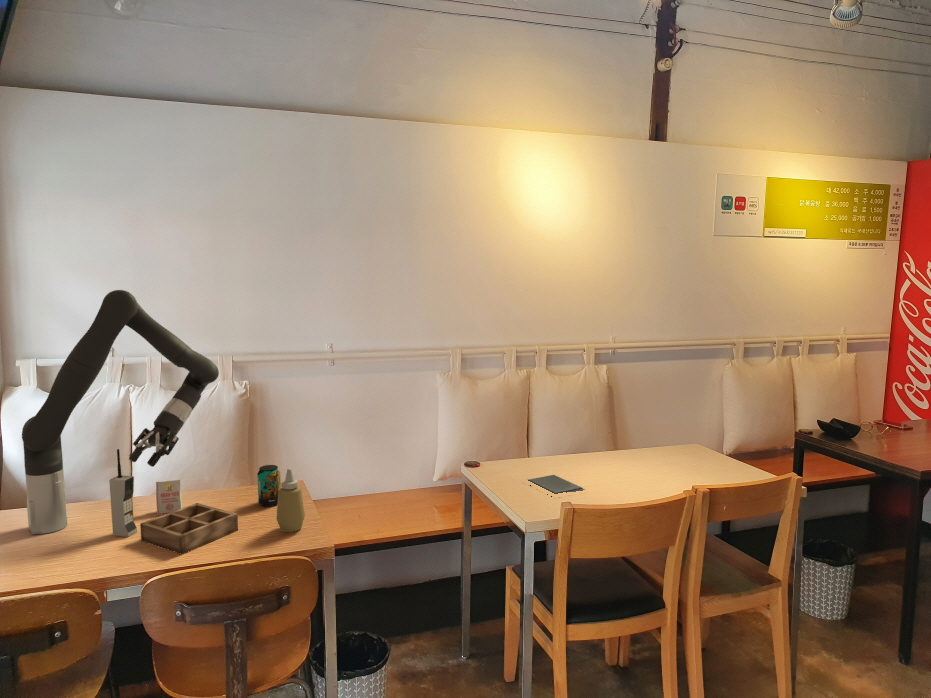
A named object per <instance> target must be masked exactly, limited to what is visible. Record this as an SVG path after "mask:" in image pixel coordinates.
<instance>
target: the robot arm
mask: <svg viewBox="0 0 931 698" xmlns="http://www.w3.org/2000/svg"><path fill="white" fill-rule="evenodd" d="M125 326H127V327H128V328H130V329H132V330H133V331H134V332H135V333H136V334H138V335H139V336H140V337H142V338H143V339H144V340H145V341H146V342H148V344H150V346H152V347H153V349H155V350H156V351H157V352H158V353H159V354H161V355H162V356H163V357H164V358H165V359H166V360H168V361H169V362H170V363H172V364H173V365H174V366H176V367H178V368H183V369H185V370H186V371H188V373H187V375H186V376H185V378H184V380H183V381H182V384H181V386H180V387H179V389H177V391H176V392H175V393H174V395H173V396H172V398H171V399H170V400H169V401H168V402H167V403H166V404H165V405H164V407H163V408H162V410H161V411H160V413H158V416H157V417H156V418H155V420H154V421H153V428H152V429H151V430H150V429H148V428H144V429H143V430H142V431H141V433H140V434H139V435H138V436H137V438H136V439H135V440H134V442H133V443H132V445H133V446H134V447H135V448H134V450H133V451H132V452H131V454H130V455H129V458H128V460H130V461H131V462H133V463H136V462H137V461H138V460H139V458H140V456H141V455H142V454H143V452H144V451H146V450H147V449H150V448H153V447H155V451H154V452H153V453H152V455H151V456H150V458H149V459H148V460H147V462H146V463H147V465H149V467H155V465H156V464H157V463H158V462H159V460H160V459H161V458H162V457H164V456H165V455H166V456H169V455H170V454H171V452H172V451H173V449H174V447H175V446H176V445H177V443H178V442H179V439H180V438H179V437H178V436H177V435H178V433H179V432H180V431H181V430H182V429H183V426H184V425H185V423H186V422H187V420H188V419H189V418H190V416H191V414H192V412H193V410H194V409H195V408H196V406H197V405H198V403H199V401H200V400H201V398H202V397H201V396H202V394H203V392H204V391H205V389H206V387H207V386H208V385H210V384H212V383H214V382H216V380H217V379H218V377H219V374H220V372H219V368H218V366H217V365H216V364H215V362H213V361H212V360H211V359H210V358H209V357H206V356H204V355H203V354H201V353H199V352H197V351H195V350H193V349H192V348H191V346H189V345H188V344H187V343H185V342H184V341H183V340H182V339H181V338H180V337H178V336H177V335H175V334H174V333H173V332H172V331H170V330H169V329H167V328H165V326H163V325H161V323H159V322H158V321H157V320H155V319H154V318H153V317H152V316H151V315H150V314H148V313H147V312H146V310H145V309H144V308H143V307H142V306H141V305H140V304H139V303H138V301H137V298H136V297H135V296H134V295H133V294H132V293H131V292H129V291H127V290H123V289H116V290H115V289H114V290H112V291H110V292H108V293H107V294H106V295H105V296H104V298H103V299H102V302H101V305H100V307H99V310H98V311H97V314H96V316H95V317H94V319H93V322H92V323H91V325H90V327H89V328H88V330H86V332H85V333H84V335H82V337H80V339H79V340H78V341H77V343H76V344H75V346H74V347H73V349H71V351H70V353H69V354H68V356H67V357H66V358H65V360H64V362H63V364H61V367H60V369H59V371H58V373H57V374H56V377H55V379H54V381H53V383H52V386H51V388H50V390H49V394H48V395H47V398H46V399H45V402H44V403H43V404H42V406H41V407H40V409H39V410H38V411H37V412H36V414H35V415H34V416H32V417H30V418H29V419H27V420H26V422H25V423H24V424H23V427H22V430H21V431H22V432H21V440H22V443H23V445H22V446H23V456H24V457H23V458H24V459H23V460H24V461H23V462H24V472H25V473H24V475H25V476H24V477H25V485H26V496H27V497H26V511H27V523H28V529H29V532H30V535H31V536H32V535H41V534H50V533H54V532H57V531H60V530H62V529H64V528H66V527H67V526H68V516H67V502H66V501H67V499H66V490H65V477H64V463H63V462H64V461H63V449H62V437H61V436H62V433H63V430H64V429H65V427H66V425H67V422H68V421H69V418H70V417H71V415H72V413H73V411H74V410H75V408H76V407H77V405H78V404H79V403H80V402H81V400H82V399H83V398H84V396H85V395H86V394H87V392H88V391H89V389H90V388H91V386H92V385H93V383H94V381H95V380H96V378H97V377H98V375H99V374H100V372H101V370H102V369H103V367H104V364H105V363H106V360H107V358H108V356H109V354H110V352H111V350H112V348H113V344H114V343H115V341H116V339H117V338H118V336H119V335H120V333H121V332H122V330H123V329H124V328H125Z"/></svg>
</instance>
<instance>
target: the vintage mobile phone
mask: <svg viewBox="0 0 931 698" xmlns="http://www.w3.org/2000/svg"><path fill="white" fill-rule="evenodd" d="M116 458H117V475H116V476H114V477H111V478H110V479H109V481H108V482H109V494H110V495H109V497H110V510H111V523H112V524H111V525H112V535H113V536H115V537H123V538H129V537H131V536H132V535H134V534H136V533H137V532H138V528H137V526H136V524H135V519H134V508H133V507H134V506H133V505H134V504H133V503H134V502H133V495H134V492H135V491H134V490H135V489H134V487H135V484H134V482H135V477H134V476H132V475H122V465H121V457H120V449H119V448H117V449H116Z"/></svg>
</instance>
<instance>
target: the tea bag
mask: <svg viewBox="0 0 931 698" xmlns="http://www.w3.org/2000/svg"><path fill="white" fill-rule="evenodd" d="M155 484H156V485H155V486H156V489H155V490H156V492H155V493H156V494H155V495H156V515H157V516H162V515H161V514H164V515H165V514H168V513H171V512H174V511H176V510H179V509H182V508H183V501H182V497H183V496H182V486H181V479H175V480H164V481H163V480H162V481H156V482H155Z"/></svg>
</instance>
